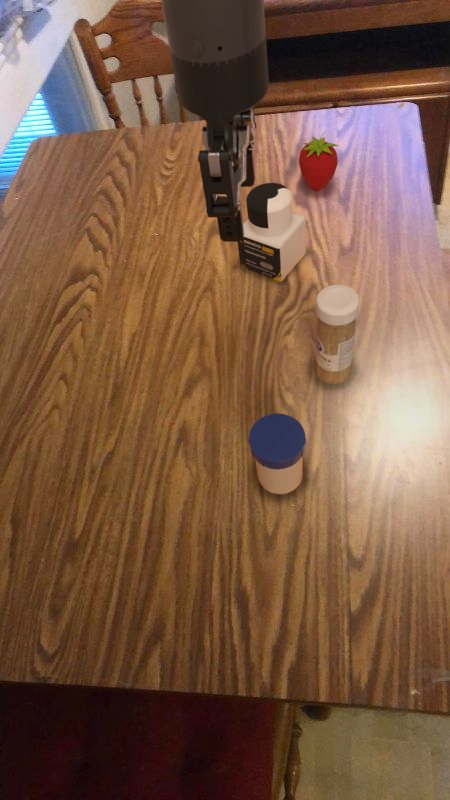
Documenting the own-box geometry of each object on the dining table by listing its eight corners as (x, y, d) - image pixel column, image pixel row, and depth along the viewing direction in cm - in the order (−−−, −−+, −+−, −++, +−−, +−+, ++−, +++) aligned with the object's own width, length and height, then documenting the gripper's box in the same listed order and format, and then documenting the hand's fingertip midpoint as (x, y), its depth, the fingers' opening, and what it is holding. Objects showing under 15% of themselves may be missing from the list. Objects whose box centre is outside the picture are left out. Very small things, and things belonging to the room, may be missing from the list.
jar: (295, 452, 65) (294, 413, 58) (308, 491, 62) (308, 454, 55) (253, 463, 65) (247, 424, 58) (264, 501, 62) (258, 466, 55)
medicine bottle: (239, 270, 83) (230, 201, 74) (266, 241, 86) (260, 170, 76) (281, 286, 80) (277, 216, 71) (306, 255, 83) (306, 184, 74)
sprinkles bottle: (307, 371, 71) (307, 295, 60) (335, 354, 72) (340, 276, 61) (330, 395, 69) (334, 320, 58) (359, 376, 70) (369, 299, 59)
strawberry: (331, 174, 94) (333, 115, 85) (340, 202, 89) (344, 143, 81) (295, 180, 94) (294, 122, 86) (303, 208, 90) (302, 149, 81)
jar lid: (296, 416, 59) (296, 407, 58) (312, 462, 56) (312, 454, 55) (244, 428, 59) (243, 420, 58) (257, 475, 56) (256, 468, 55)
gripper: (253, 79, 39) (268, 260, 52) (274, -10, 47) (283, 167, 60) (149, 85, 40) (189, 259, 53) (186, -3, 48) (213, 168, 61)
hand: (238, 210), depth 57 cm, fingers open, 8 cm apart
